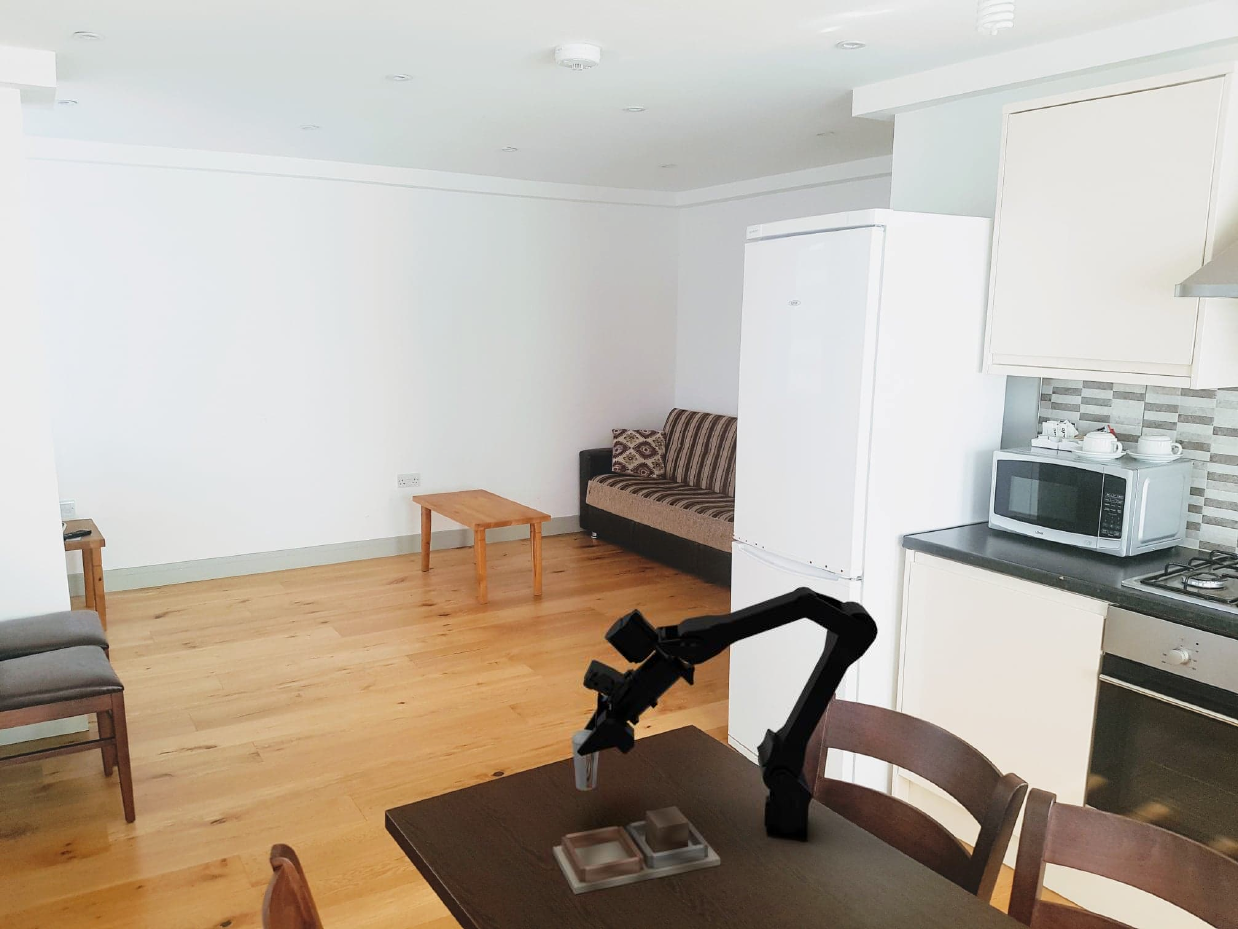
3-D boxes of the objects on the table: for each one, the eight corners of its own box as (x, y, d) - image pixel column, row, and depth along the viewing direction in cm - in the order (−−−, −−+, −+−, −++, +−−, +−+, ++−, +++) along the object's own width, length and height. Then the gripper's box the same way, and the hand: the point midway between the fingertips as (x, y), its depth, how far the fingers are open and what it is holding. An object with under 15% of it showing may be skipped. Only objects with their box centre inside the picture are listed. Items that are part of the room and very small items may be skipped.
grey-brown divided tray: (689, 828, 150) (690, 793, 150) (720, 864, 140) (721, 827, 139) (552, 853, 143) (553, 816, 142) (574, 894, 132) (575, 855, 131)
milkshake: (608, 789, 149) (609, 729, 148) (577, 794, 147) (577, 734, 146) (598, 776, 153) (599, 718, 152) (567, 782, 151) (568, 723, 150)
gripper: (614, 628, 156) (549, 690, 158) (612, 668, 137) (538, 738, 139) (660, 673, 157) (595, 734, 159) (665, 719, 139) (590, 788, 140)
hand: (579, 747), depth 149 cm, fingers closed on milkshake, 4 cm apart
